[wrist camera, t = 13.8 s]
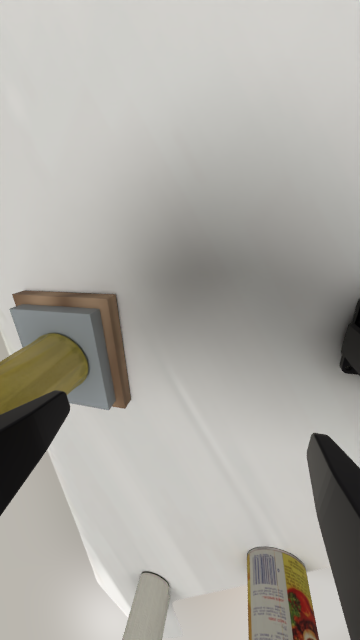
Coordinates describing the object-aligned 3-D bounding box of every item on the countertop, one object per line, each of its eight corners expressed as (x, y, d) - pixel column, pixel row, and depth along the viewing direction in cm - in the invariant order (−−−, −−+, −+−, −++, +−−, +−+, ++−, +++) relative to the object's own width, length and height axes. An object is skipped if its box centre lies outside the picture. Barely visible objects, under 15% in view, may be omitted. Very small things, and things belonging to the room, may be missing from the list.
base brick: (115, 294, 22) (107, 299, 20) (130, 399, 27) (125, 408, 25) (24, 290, 24) (12, 294, 23) (54, 386, 29) (45, 394, 28)
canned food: (268, 580, 34) (281, 741, 24) (235, 550, 33) (233, 704, 23) (317, 577, 31) (358, 763, 20) (282, 543, 30) (306, 719, 19)
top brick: (99, 308, 21) (89, 314, 20) (115, 400, 25) (109, 410, 24) (23, 304, 23) (9, 308, 22) (49, 389, 27) (40, 397, 26)
